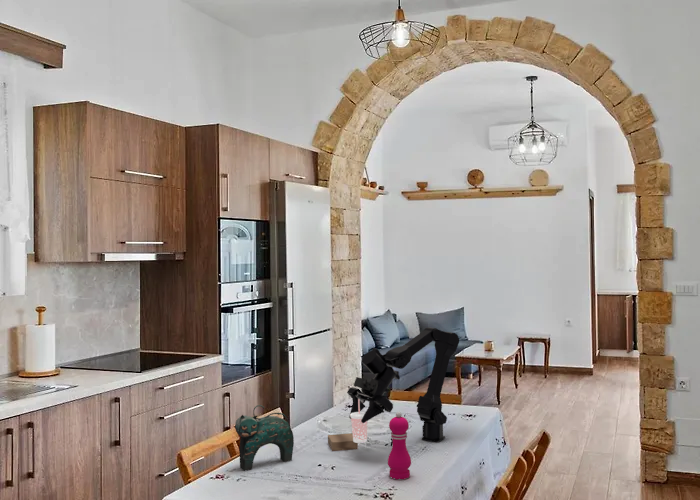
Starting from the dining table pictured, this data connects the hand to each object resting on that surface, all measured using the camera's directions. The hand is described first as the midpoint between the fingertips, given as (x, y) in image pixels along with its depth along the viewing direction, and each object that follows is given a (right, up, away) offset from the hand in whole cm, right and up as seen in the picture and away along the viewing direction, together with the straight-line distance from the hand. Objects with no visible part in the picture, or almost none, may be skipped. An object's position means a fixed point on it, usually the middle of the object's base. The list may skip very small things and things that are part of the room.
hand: (356, 420), depth 240 cm
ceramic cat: (-30, -14, -3) cm, 33 cm away
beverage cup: (+1, -7, +1) cm, 7 cm away
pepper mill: (+13, -14, -16) cm, 25 cm away
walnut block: (-5, -13, +15) cm, 20 cm away
